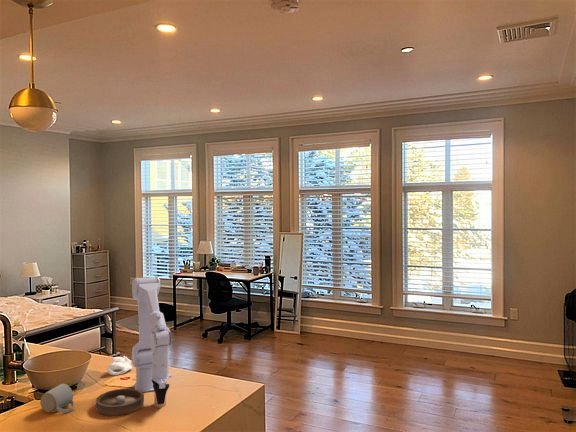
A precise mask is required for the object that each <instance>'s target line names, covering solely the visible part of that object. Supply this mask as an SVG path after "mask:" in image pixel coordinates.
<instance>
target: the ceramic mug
mask: <svg viewBox="0 0 576 432" xmlns="http://www.w3.org/2000/svg"><path fill="white" fill-rule="evenodd" d="M69 405H71V407H70V408H67V409H66V408H65V407H66V406H69ZM40 406H41V409H42V410H43V411H44V412H45V413H49V414H50V413H55V412H58V413H62V414H68V413H71V412H73V410H74V408H75V402H74V392H73V390H72V388H71V387H70V386H69V385H68V384H66V383H60V384H58V385H56V386H55V387H53V388H51V389H49V390H48V391H46V392H45V393H44V394H42V396H41V397H40ZM64 408H65V409H64Z"/></svg>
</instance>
